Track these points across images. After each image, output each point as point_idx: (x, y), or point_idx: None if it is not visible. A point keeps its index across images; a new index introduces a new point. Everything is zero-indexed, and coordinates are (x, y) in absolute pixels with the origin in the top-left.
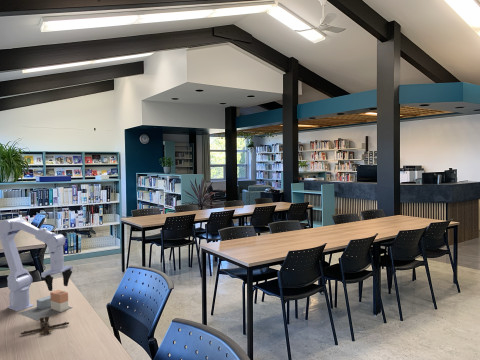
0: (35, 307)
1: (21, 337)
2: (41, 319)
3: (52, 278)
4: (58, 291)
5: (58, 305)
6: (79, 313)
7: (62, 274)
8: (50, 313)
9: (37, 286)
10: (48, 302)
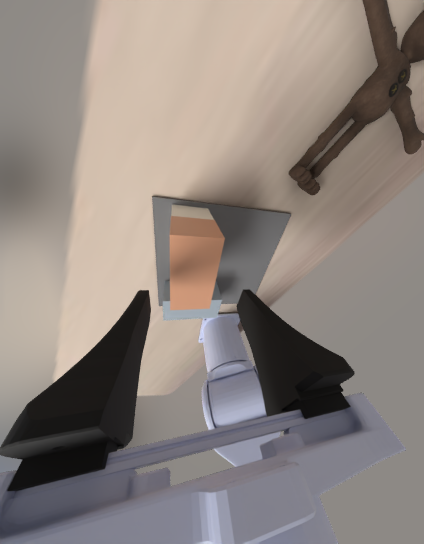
0: None
1: None
2: (316, 183)
3: (311, 362)
4: (184, 292)
5: None
6: (174, 81)
7: (135, 402)
8: (231, 230)
9: None
10: None
